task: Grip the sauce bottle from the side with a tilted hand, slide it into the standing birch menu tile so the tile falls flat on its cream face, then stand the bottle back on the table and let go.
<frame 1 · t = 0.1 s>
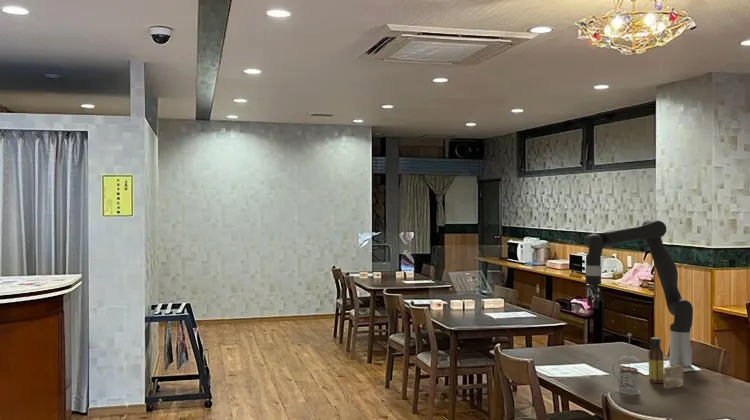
hand: (592, 306, 320), 29 cm above the table, tool pointing down, fingers open, 8 cm apart
sauce bottle: (655, 382, 291), on the table
menu tile: (673, 387, 283), on the table
french press: (626, 391, 276), on the table
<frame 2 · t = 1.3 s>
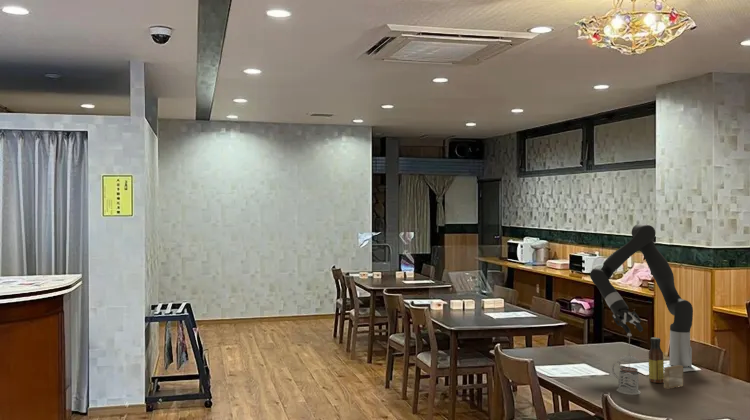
hand: (635, 331, 302), 21 cm above the table, tool tilted 45°, fingers open, 8 cm apart
nothing on the table moved.
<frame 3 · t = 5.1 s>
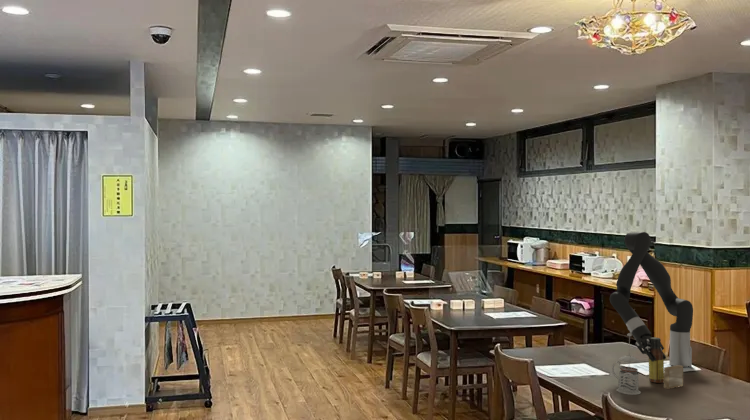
hand: (659, 359, 290), 10 cm above the table, tool tilted 45°, fingers closed on sauce bottle, 6 cm apart
sauce bottle: (656, 382, 291), on the table, touching gripper
everything else where it was.
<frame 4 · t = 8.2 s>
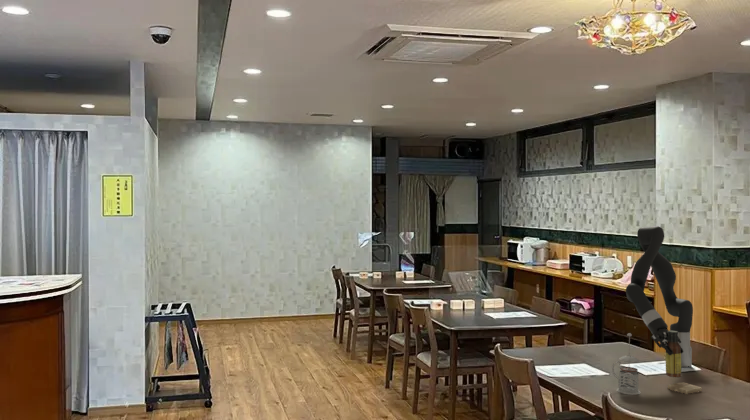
hand: (676, 353, 282), 15 cm above the table, tool tilted 45°, fingers closed on sauce bottle, 6 cm apart
sauce bottle: (672, 376, 284), point 5 cm above the table, touching gripper
menu tile: (675, 385, 282), point 1 cm above the table, tilted 90°
everything else where it was.
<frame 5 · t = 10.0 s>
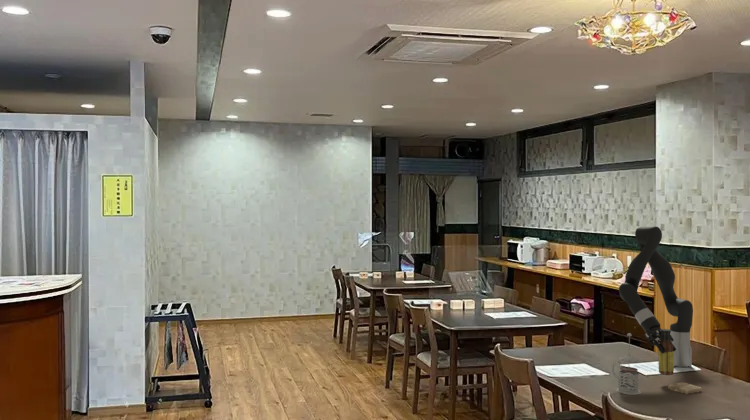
hand: (669, 351, 286), 15 cm above the table, tool tilted 45°, fingers closed on sauce bottle, 6 cm apart
sauce bottle: (665, 374, 287), point 5 cm above the table, touching gripper
everything else where it was.
when the fingers open (11 cm above the table, at t = 11.6 s): sauce bottle stays where it is, on the table.
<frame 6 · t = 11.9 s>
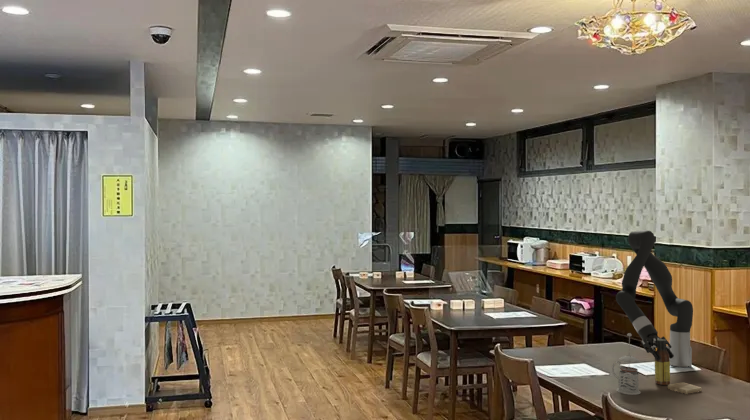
hand: (665, 358, 287), 12 cm above the table, tool tilted 45°, fingers open, 8 cm apart
sauce bottle: (662, 384, 288), on the table
everything else where it was.
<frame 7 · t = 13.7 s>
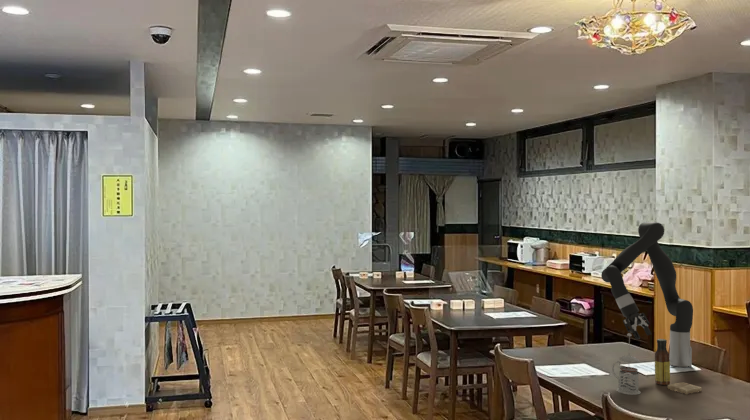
hand: (644, 337, 301), 18 cm above the table, tool tilted 30°, fingers open, 8 cm apart
nothing on the table moved.
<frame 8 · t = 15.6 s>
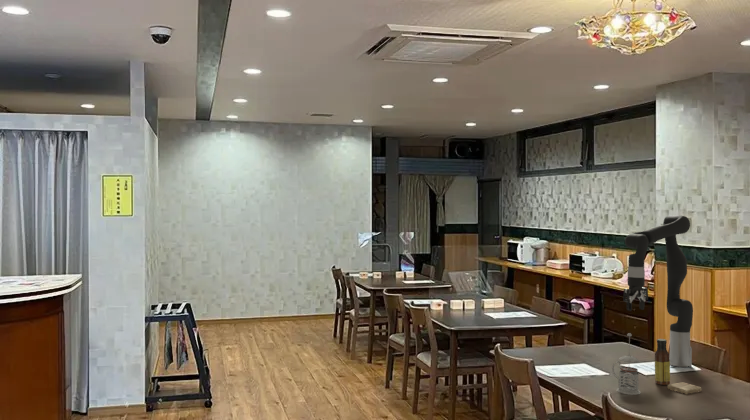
hand: (635, 310, 306), 30 cm above the table, tool pointing down, fingers open, 8 cm apart
nothing on the table moved.
at the end: menu tile tilted 90°; sauce bottle tilted 0°; the gripper is holding nothing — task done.
